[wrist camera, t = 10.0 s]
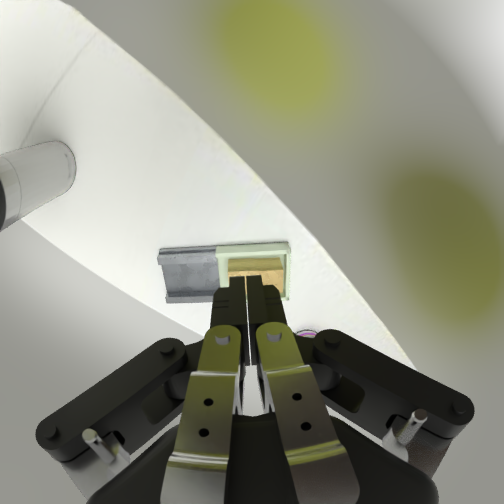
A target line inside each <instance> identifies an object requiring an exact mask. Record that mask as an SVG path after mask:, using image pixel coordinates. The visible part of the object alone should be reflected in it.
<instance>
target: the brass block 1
mask: <svg viewBox="0 0 504 504" xmlns="http://www.w3.org/2000/svg"><path fill="white" fill-rule="evenodd" d="M249 275H256V269H255V262H254V258H244V259H228V282H229V277H231V276H245V290H246V294H247V285H246V276H249Z"/></svg>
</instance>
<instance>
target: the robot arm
mask: <svg viewBox="0 0 504 504" xmlns="http://www.w3.org/2000/svg"><path fill="white" fill-rule="evenodd" d="M75 172H76V164H75V159H74V156H73V154H72V152H71V150H70V149H69V148H68V147H67V146H66V145H65V144H64V143H62V142H58V141H52V142H47V143H43V144H38V145H34V146H30V147H26V148H22V149H18V150H15V151H11V152H8V153H4V154H1V155H0V232H1V231H2V230H4V229H5V228H7V227H8V226H10V225H11V224H13V223H14V222H16V221H17V220H19V219H21V218H22V217H24V216H25V215H27V214H29V213H30V212H32V211H34V210H35V209H37V208H39V207H40V206H42V205H44V204H46V203H47V202H49V201H51V200H53V199H55V198H56V197H58V196H60V195H62V194H64V193H65V192H66V191H68V190H69V188H70V187H71V185H72V183H73V181H74V178H75ZM246 285H247V304H248V320H249V335H250V349H251V362H252V365H257V380H258V386H259V391H260V396H261V401H262V406H263V411H264V414H262V415H259V416H254V417H252V416H245V415H243V404H244V386H245V379H244V377H245V373H246V370H245V366H249V365H250V356H249V339H248V322H247V306H246V290H245V276H231V277H229V287H220V288H218V289H217V290H216V292H215V293H214V295H213V304H212V314H211V323H210V329H209V330H208V331H207V332H206V334H205V336H204V339H203V340H201V341H199V342H197V343H193V344H189V345H186V346H185V345H184V344H183V342H182V341H180V340H178V339H175V338H164V339H161V340H159V341H157V342H155V343H154V344H152V345H151V346H150V347H149V348H147V349H145V350H144V351H143V352H141V353H140V354H138V355H137V356H135V357H134V358H133V359H131V360H130V361H128V362H127V363H125V364H124V365H123V366H121V367H120V368H118V369H117V370H115V371H114V372H113V373H111V374H110V375H108V376H107V377H105V378H104V379H102V380H101V381H99V382H98V383H97V384H95V385H94V386H92V387H91V388H89V389H88V390H86V391H85V392H84V393H82V394H81V395H79V396H78V397H76V398H75V399H73V400H72V401H70V402H69V403H67V404H66V405H64V406H63V407H62V408H60V409H58V410H57V411H56V412H54V413H53V414H51V415H50V416H48V417H47V418H45V419H44V420H42V421H41V422H40V423H39V425H38V426H37V429H36V440H37V442H38V444H39V445H40V446H41V447H42V448H43V449H45V451H47V452H48V453H49V454H50V455H51V457H52V458H54V459H55V460H56V461H57V462H58V463H60V464H61V465H62V467H63V468H64V469H65V471H66V472H67V474H68V475H69V477H70V478H71V479H72V481H73V482H74V484H75V485H76V486H77V488H78V489H79V490H80V492H81V493H82V494H83V495H84V497H85V498H86V499H87V500H88V501H87V503H86V504H438V502H439V496H438V490H437V487H436V486H435V483H434V482H433V480H432V477H433V475H434V473H435V472H436V470H437V468H438V467H439V465H440V463H441V461H442V459H443V457H444V456H445V454H446V452H447V450H448V448H449V446H450V443H451V442H452V441H453V439H454V438H455V437H456V436H457V435H458V434H459V433H460V432H461V431H462V430H463V429H464V428H465V427H466V425H467V424H468V423H469V422H470V421H471V420H472V418H473V416H474V405H473V403H472V401H471V400H470V399H469V398H468V397H467V396H465V395H464V394H462V393H460V392H457V391H455V390H453V389H451V388H449V387H447V386H445V385H443V384H441V383H439V382H437V381H435V380H433V379H431V378H429V377H427V376H425V375H423V374H421V373H419V372H417V371H415V370H413V369H412V368H410V367H408V366H406V365H404V364H402V363H400V362H398V361H396V360H394V359H392V358H390V357H388V356H386V355H384V354H383V353H381V352H379V351H377V350H375V349H373V348H371V347H369V346H367V345H365V344H364V343H362V342H360V341H358V340H356V339H354V338H352V337H350V336H349V335H347V334H345V333H343V332H341V331H338V330H334V329H327V330H323V331H320V332H319V333H317V334H316V335H315V337H314V338H310V337H303V336H299V335H297V334H295V333H293V332H292V330H291V329H290V327H289V326H288V325H287V321H286V317H285V313H284V309H283V304H282V300H281V296H280V292H279V290H278V289H277V288H276V287H275V286H274V285H263V282H262V276H261V275H249V276H246ZM326 405H327V406H328V407H330V408H332V409H333V410H334V411H336V412H338V413H339V414H341V415H342V416H344V417H345V418H347V419H348V420H350V421H352V422H353V423H355V424H357V425H358V426H360V427H361V428H363V429H364V430H366V431H368V432H369V433H371V434H373V435H374V436H376V437H378V438H379V439H381V440H382V445H383V447H381V446H380V445H378V444H376V443H375V442H373V441H372V440H370V439H369V438H367V437H366V436H364V435H363V434H361V433H360V432H358V431H357V430H355V429H354V428H352V427H351V426H350V425H348V424H346V423H345V422H344V421H342V420H340V419H338V418H336V417H333V416H331V415H329V413H328V411H327V408H326ZM181 412H182V414H181V419H180V423H179V424H178V425H176V426H175V427H172V428H171V429H169V430H168V431H167V432H165V433H164V434H163V435H162V436H161V437H160V438H159V439H158V440H157V441H156V442H154V443H153V444H152V445H151V446H150V447H149V448H148V449H146V450H145V451H144V452H143V453H142V454H141V455H140V456H139V457H137V458H136V459H135V460H134V461H133V462H131V463H130V455H131V454H132V453H134V452H135V451H136V450H137V449H139V448H140V447H141V446H142V445H144V444H145V443H146V442H147V441H148V440H150V439H151V438H152V437H153V436H154V435H156V434H157V433H158V432H159V431H160V430H162V429H163V428H164V427H165V426H166V425H167V424H169V423H170V422H171V421H172V420H173V419H174V418H176V417H177V416H178V415H179V414H180V413H181Z"/></svg>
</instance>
